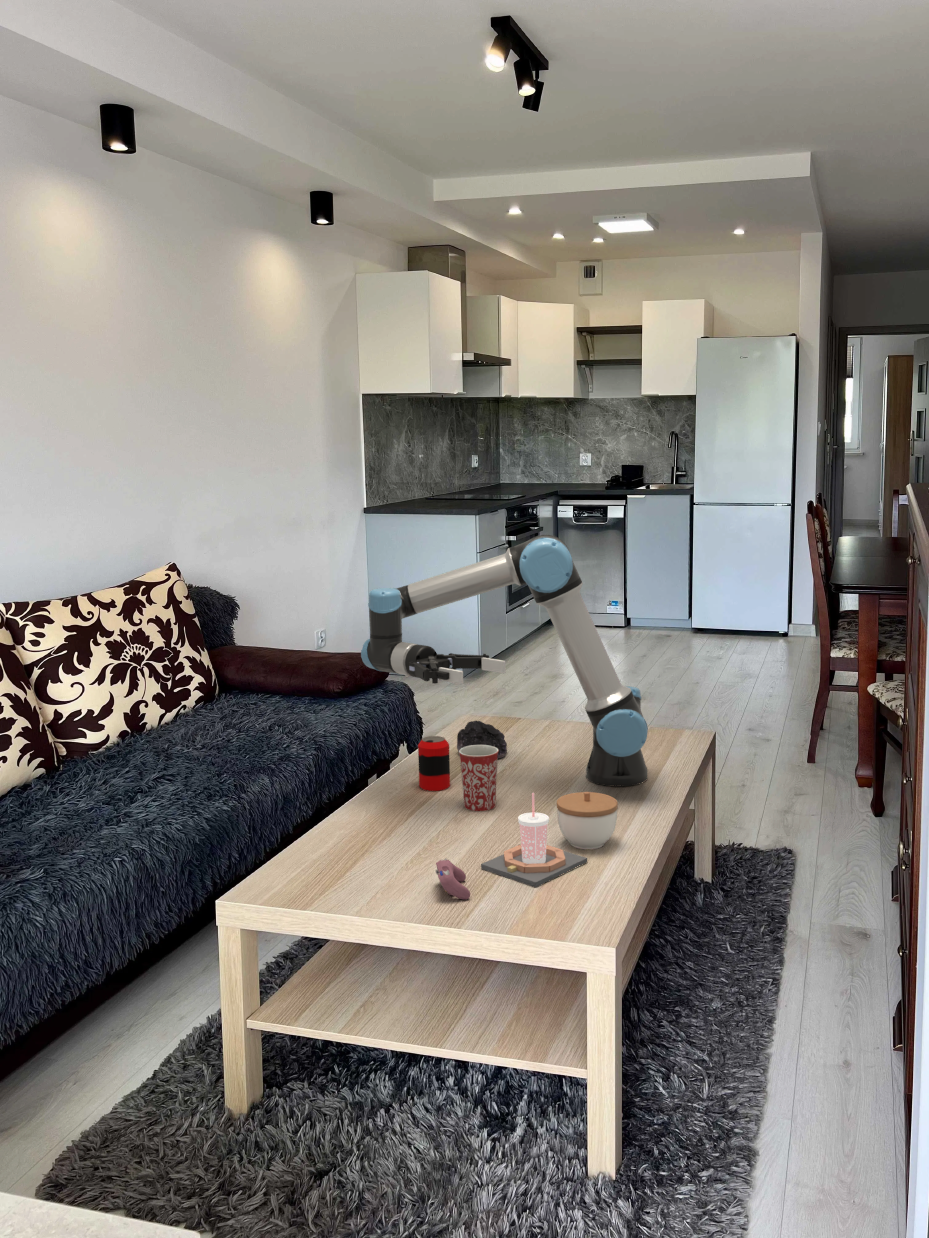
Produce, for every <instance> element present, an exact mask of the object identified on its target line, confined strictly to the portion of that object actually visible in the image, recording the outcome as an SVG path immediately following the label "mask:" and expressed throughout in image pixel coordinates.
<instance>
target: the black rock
mask: <svg viewBox="0 0 929 1238" xmlns="http://www.w3.org/2000/svg"><path fill="white" fill-rule="evenodd" d="M456 737H457V738H456V749H457V752H458V754H459V750H460V749H461V748H463V747H466V746H471V745H489V746H493V747H496V748H498V750H499V751H498V755H497V760H498V759H502V758H504V757H505V756H506V755H507V754H508V749H507V747H508V746H507V745H508V744H507V741H506V740H505V735H504V733H503V732H501V731H500V730H499V729H498V728H496V727H495V726H494V725H492V724H489V723H485V722H483V721H481V720H471V721H468V722H467V723H466V725H465V727H464V728H462V729H460V730H459V731H458V732H457V736H456ZM459 757H460V754H459Z"/></svg>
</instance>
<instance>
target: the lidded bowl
mask: <svg viewBox="0 0 929 1238" xmlns="http://www.w3.org/2000/svg"><path fill="white" fill-rule="evenodd" d="M618 806H619V803H618V801H617V799H616V798H614V797H613V796H610V795H609V794H605V793H600V792H593V791H592V792H591V791H583V792H580V791H579V792H572V793H568V794H564V795H562V796H560V797H559V798H557V799H556V809H557V811H556V812H557V813H556V814H557V822H558V823H557V824H558V827H559V830H560V832H561V834H562V836H563V837H564V838H565V839H566V841H567V842H569V844H570V846H571V847H573V848H576V849H580V850H586V849H590V850H597V849H601V848H603V847H604V846H605V843H607V842H608V841H609V840H610V839H611V837H612V835H613V834H614V832H615V829H616V826H617V819H618ZM602 846H603V847H602Z"/></svg>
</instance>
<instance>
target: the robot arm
mask: <svg viewBox="0 0 929 1238" xmlns="http://www.w3.org/2000/svg"><path fill="white" fill-rule="evenodd" d="M583 583H584V582H583V580H582V579H581V576H580V574H579V572H578V570H577V567H576V565H575V563H574V561H573V558H572V555H571V552H570V549H569V547H568V546H567V545H566V543H565V542H564V541H563V540H562V539H561V538H559V537H557V536H556V535H552V534H540V535H537V536H534V537H532V538H530V539H529V540H527V541H525V542H522V543H520V544H517V545H515V546H511V547H508V548H507V549H506V552H505V553H502V554H500V555H497V556H494V557H491V558H490V557H489V558H488V559H484V560H481V561H478V562H475V563H472V564H468V565H466V566H461V567H459V568H456V569H452V570H450V571H446V572H445V573H441V574H437V575H434V576H431V577H427V578H424V579H421V580H418V581H414V582H412V583H409V584H407V585H403V586H401V587H393V588H391V587H383V588H380V587H379V588H376V589H375V588H374V589H372V590H370V591H369V594H368V604H367V605H368V606H367V607H368V612H369V630H370V631H369V638H367V640H366V641H364V642H363V645H362V649H361V650H360V657H361V660H362V662H363V664H364V665H365V666H366V667H368V668H369V669H373V670H376V671H379V672H386V673H392V674H398V675H404V677H405V678H410V677H413V678H417V679H421V680H422V681H424V682H430V680H431V682H432V684H435V685H436V684H438V683H439V682H438V681H442V682H446V683H447V682H448V683H452V684H456V685H457V684H458V685H463V684H464V671H463V670H462V669H467V670H468V669H469V670H470V669H471V670H472V669H481V670H482V671H486V672H492V673H499V674H506V672H507V669H506V667H507V665H506V660H502V659H496V658H490V655H488V654H487V653H482V654H459V653H458V654H457V653H452V652H450V653H448V654H443V653H437V652H436V650H435V649H434V648H433V647H432V646H429V645H424V644H418V643H412V642H406V641H403V632H402V631H403V629H402V628H403V627H402V624H403V622H402V621H403V619H405V618H409V617H412V616H415V615H418V614H420V613H423V612H427V611H429V610H433V609H437V608H441V607H443V606H446V605H449V604H453V603H455V602H459V601H462V600H465V599H468V598H473V597H475V596H478V595H482V594H485V593H488V592H491V591H495V590H498V589H501V588H504V587H507V586H510V585H518V586H524V585H527V586H528V588H529V590H530V592H531V595H532V597H533V600H534V601H535V604H536V605H538V606H540V607H543V608H545V610H546V612H547V614H548V616H549V618H550V621H551V622H552V625H553V627H554V629H555V631H556V634H557V635H558V638H559V640H560V642H561V644H562V647H563V649H564V651H565V653H566V655H567V657H568V660H569V661H570V664H571V666H572V669H573V670H574V671H573V672H574V673H575V676H576V677H577V679H578V681H579V683H580V686H581V688H582V690H583V692H584V695H585V698H586V699H587V700H586V704H585V706H584V710H585V713H586V714H587V717H588V719H589V721H590V724H591V725H592V738H593V739H592V749H591V752H590V755H589V758H588V762H587V765H586V769H585V778H586V779H587V780H588V782H591V783H594V784H598V785H602V786H605V787H607V786H608V787H631V786H637V785H640V784H643V783H645V782H646V781H647V780H648V767H647V764H646V761H645V757H644V755H643V751H642V748H643V747H644V745H645V743H646V741H647V738H648V732H649V727H648V722H647V721H646V719H645V718H644V714H643V712H642V709H641V708H642V707H641V706H642V703H641V701H642V695H641V690H640V689H639V688H638V687H636V686H626V685H623V684H622V683H621V681H620V679H619V676H618V674H617V671H616V670H615V668H614V665H613V663H612V660H611V658H610V656H609V654H608V652H607V649H606V647H605V645H604V642H603V641H602V638H601V636H600V634H599V632H598V630H597V628H596V625H595V623H594V622H593V618H592V616H591V614H590V612H589V610H588V607H587V605H586V603H585V601H584V599H583V597H582V595H581V592H580V591H581V588H582V586H583ZM460 669H461V670H460ZM646 779H647V780H646ZM645 780H646V781H645ZM644 781H645V782H644ZM642 782H643V783H642ZM639 783H640V784H639Z"/></svg>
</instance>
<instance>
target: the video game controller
mask: <svg viewBox="0 0 929 1238" xmlns="http://www.w3.org/2000/svg"><path fill="white" fill-rule="evenodd" d="M435 866H436V869H435V874H436V875H437V877H438V880H439V883H440V885H441V887H442V888H443V890H444V892H445V893H447V894H448V895H449V896H453V897H455V898H456V899H459V900H465V901H467V900H469V898H470V897H471V892H470V889H469V888H468V887H466V886H465V885H464V884H462V883H463V882H465V881H466V879H467V876H466V873H465V871H463V870H462V869H461V868H460V867H458V866H456V865H455V864H454V863H452V862H451V860H449V859H447V857H445V858H444V859H440V860H438V861H437V862H436V863H435Z"/></svg>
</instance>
